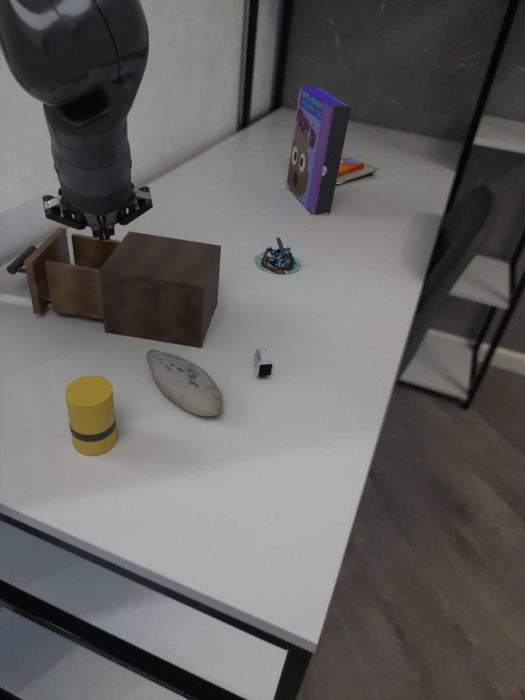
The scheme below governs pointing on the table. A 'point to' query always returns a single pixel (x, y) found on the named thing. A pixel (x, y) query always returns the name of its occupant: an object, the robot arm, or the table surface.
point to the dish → (278, 260)
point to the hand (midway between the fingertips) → (103, 233)
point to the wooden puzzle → (351, 169)
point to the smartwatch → (263, 362)
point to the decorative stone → (185, 383)
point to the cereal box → (317, 148)
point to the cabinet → (160, 288)
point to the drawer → (65, 273)
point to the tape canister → (91, 415)
